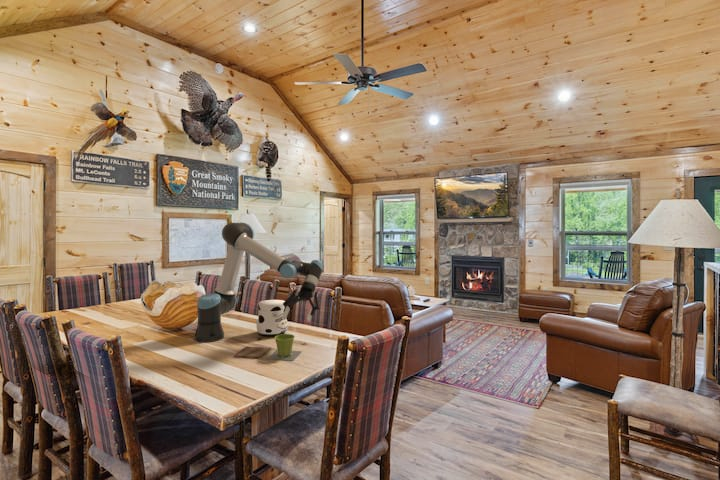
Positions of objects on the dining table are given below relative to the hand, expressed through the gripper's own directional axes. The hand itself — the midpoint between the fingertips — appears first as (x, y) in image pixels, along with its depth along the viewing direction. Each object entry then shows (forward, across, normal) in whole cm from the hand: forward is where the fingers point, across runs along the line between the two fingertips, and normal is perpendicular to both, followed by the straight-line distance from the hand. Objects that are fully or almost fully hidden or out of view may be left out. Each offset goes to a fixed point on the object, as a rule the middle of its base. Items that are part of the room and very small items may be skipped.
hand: (295, 319), depth 191 cm
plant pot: (+18, 0, -3) cm, 18 cm away
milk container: (-3, +26, -24) cm, 35 cm away
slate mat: (+18, 0, -3) cm, 18 cm away
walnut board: (+20, +16, -1) cm, 25 cm away
